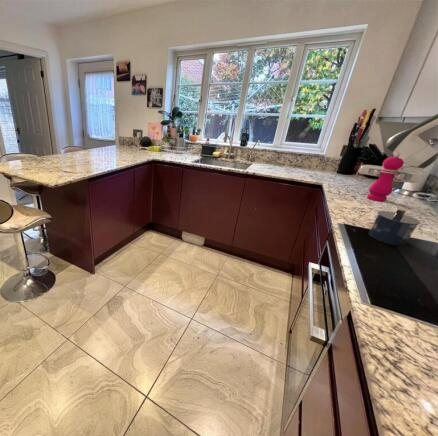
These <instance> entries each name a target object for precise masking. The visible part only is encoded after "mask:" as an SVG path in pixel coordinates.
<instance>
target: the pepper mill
mask: <svg viewBox="0 0 438 436" xmlns="http://www.w3.org/2000/svg"><path fill="white" fill-rule="evenodd" d="M399 156H400V154H399V153H396V154H393V156H390V157H387V158H385V159H384V160H383V162H382V166H383V167H384V168H382V170H381V172H382V173H381V175H380V177H378V178H377V179H376V180H375V181H374V182H373V183H372V184H371V185H370V186H369V188H368V192H369V193H368V194H367V195H366V199H367V200H368V201H372V202H375V203H376V202H377V203H385V202H386V201H387V197H388V196H390V195H391V194H392V192H393V190H394V189H393V182H392V180H393V177H394V175H395V174H397V172H398V169H399V168H401V167H402V166H403V164H404V161H403V160H402V159H401V158H398V157H399Z"/></svg>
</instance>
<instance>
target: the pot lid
mask: <svg viewBox="0 0 438 436" xmlns="http://www.w3.org/2000/svg"><path fill="white" fill-rule="evenodd" d="M406 212H407V211H406V210H405V209H403V208H402V209H401V208H397V210H396V211H390V210H389V211H388V210H378V211H377V212H376V214H377V215H379V216H380V217H382V218H385V219H387V220H390V221H394V222H398V223H402V224H408V225H417V226H419V225H420V224H421V221H420V220H419V219H417V218H415V217H412V216H410V215H407V214H406Z"/></svg>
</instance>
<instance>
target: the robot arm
mask: <svg viewBox="0 0 438 436" xmlns="http://www.w3.org/2000/svg"><path fill="white" fill-rule="evenodd" d="M437 125H438V113H436V114H434V115H432V116H431V117H427V118H426V119H425V120H423V121H421V122H419V123H417V124H415V125H413V126H412V127H409V128H408V129H405V130H402V131H400V132H398V133H396V134H394V135H393V136H391V137H390V138H388V139H387V140H386V143H385V150H386V151H388V152H389V153H391V154H392V155H394V154H396V153H399V154H400V156H399V157H398V158H401V159H402V160H403V161H404V164H403V166H402V167H401V168H399V169H398V172H397V174H395V175H394V177H393V180H392V183H393V182H395V183H398V182H399V183H400V182H401V183H409V184H421V183H422V182H423V180H424V179H425V177H426V172H425V171H424V169H426V168H427V167H429V166H430V165H432V164H433V163H435V162H436V161H437V160H438V150H437V149H436V148H434V146H432V145H430V144H428V142H427V141H425V140H424V139H422V138H421V137H420V136H419V134H421V133H423V132H426V131H427V130H429V129H431V128H433V127H435V126H437ZM382 168H384V167H383V165H373V164H362V165H360V168H359V170H358V174H361V175H366V176H373V177H378V178H379V177H380V175H381V173H382V172H381V170H382Z"/></svg>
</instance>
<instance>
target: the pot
mask: <svg viewBox="0 0 438 436" xmlns="http://www.w3.org/2000/svg"><path fill="white" fill-rule="evenodd" d="M417 227H418V225H408V224H402V223H398V222H394V221H390V220H387V219H385V218H382V217H380V216H379V215H378V214H377V215H376V217H375V219H374V221H373V223H372V225H371V227H370V229H369V231H368V236H370V238H372V239H375V240H376V241H379V242H382V243H385V244H387V245H393V246H401V247H402V246H405V245H406V244H407V243H408V241H410V238H411V237H412V235H413V234H414V232H415V231H416V228H417Z"/></svg>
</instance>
